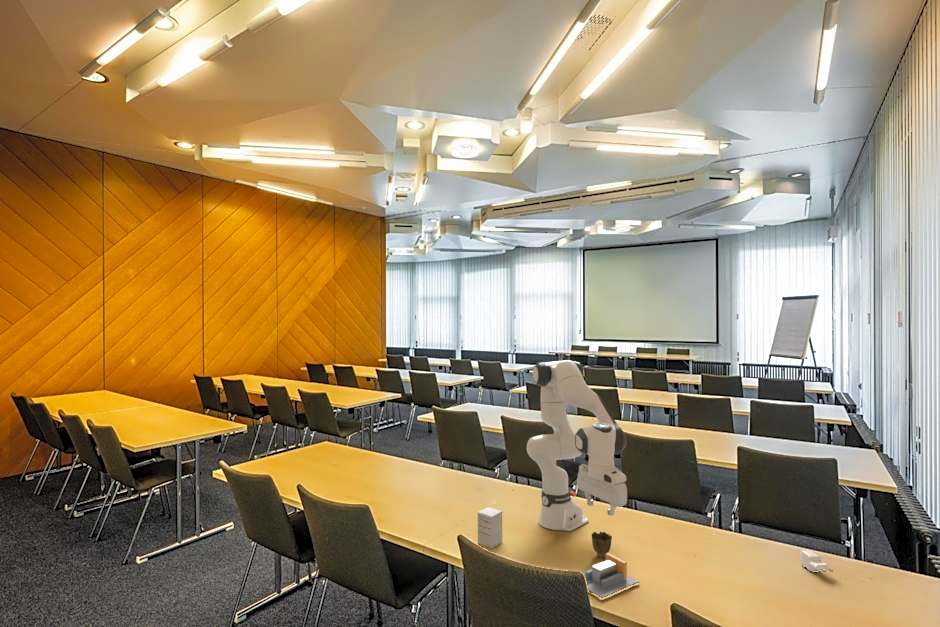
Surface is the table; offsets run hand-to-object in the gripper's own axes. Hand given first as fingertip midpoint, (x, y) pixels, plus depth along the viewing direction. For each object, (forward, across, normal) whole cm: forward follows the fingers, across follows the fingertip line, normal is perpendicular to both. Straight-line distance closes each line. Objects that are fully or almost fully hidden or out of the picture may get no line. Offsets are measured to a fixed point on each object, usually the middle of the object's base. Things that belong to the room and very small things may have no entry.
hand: (600, 509), depth 176 cm
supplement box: (+25, -41, -18) cm, 51 cm away
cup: (+24, -9, +11) cm, 28 cm away
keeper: (+23, +5, -3) cm, 24 cm away
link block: (+22, +5, -3) cm, 22 cm away
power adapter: (+23, +41, +66) cm, 81 cm away
